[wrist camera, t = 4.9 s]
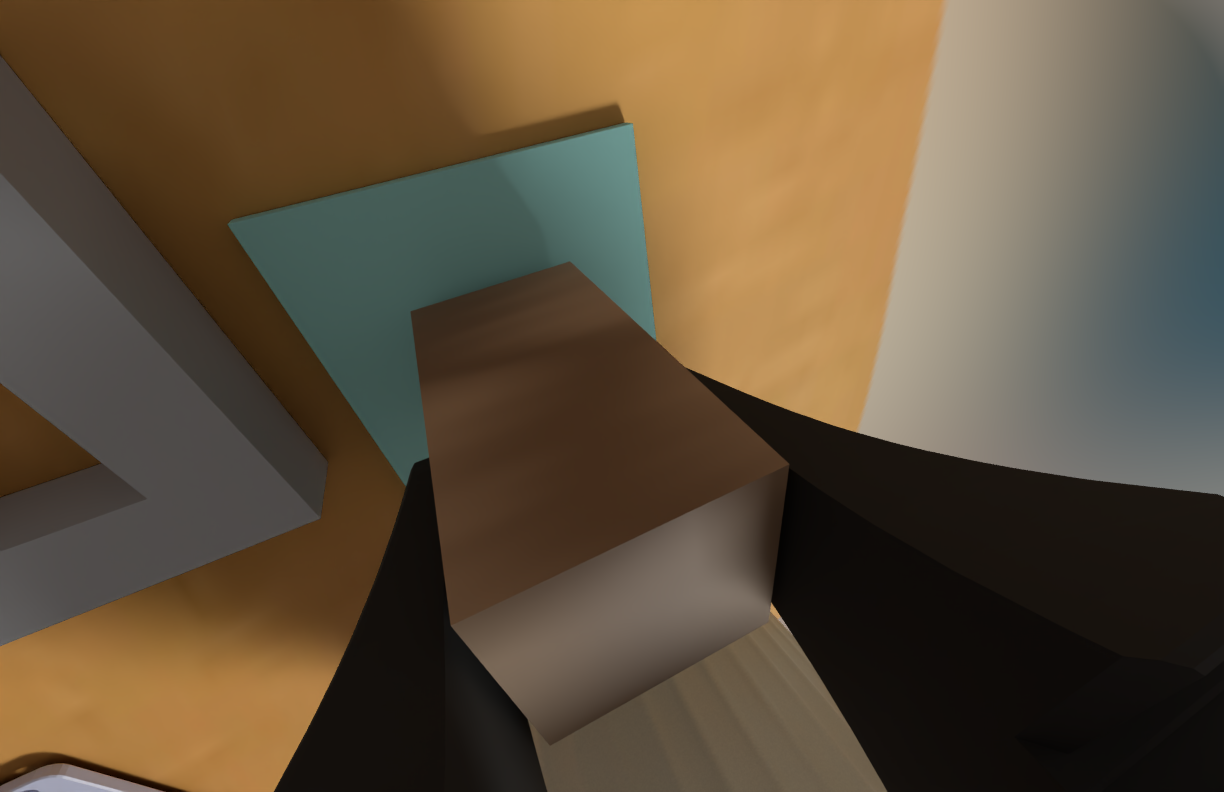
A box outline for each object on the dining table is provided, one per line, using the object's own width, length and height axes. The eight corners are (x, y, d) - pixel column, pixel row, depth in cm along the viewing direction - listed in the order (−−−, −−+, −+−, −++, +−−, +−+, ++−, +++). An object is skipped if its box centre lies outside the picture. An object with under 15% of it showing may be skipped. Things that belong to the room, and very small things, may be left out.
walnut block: (470, 435, 13) (550, 746, 7) (410, 311, 10) (450, 626, 4) (597, 385, 14) (768, 622, 8) (569, 261, 11) (789, 463, 5)
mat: (417, 495, 15) (418, 504, 14) (232, 220, 9) (227, 224, 9) (658, 398, 17) (663, 404, 16) (625, 122, 11) (632, 123, 11)
